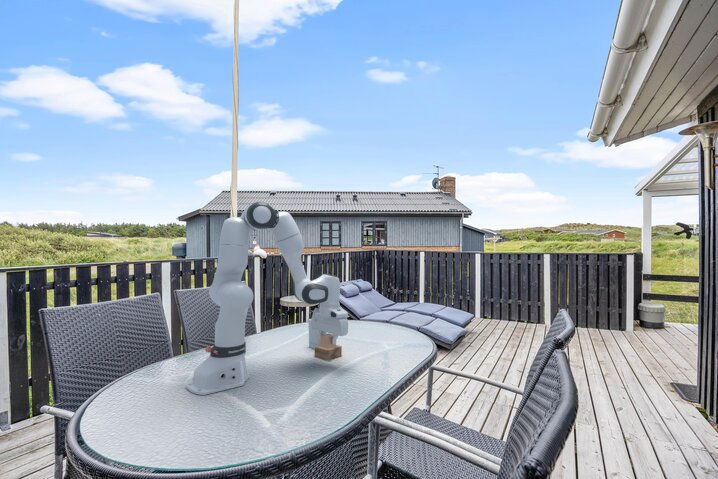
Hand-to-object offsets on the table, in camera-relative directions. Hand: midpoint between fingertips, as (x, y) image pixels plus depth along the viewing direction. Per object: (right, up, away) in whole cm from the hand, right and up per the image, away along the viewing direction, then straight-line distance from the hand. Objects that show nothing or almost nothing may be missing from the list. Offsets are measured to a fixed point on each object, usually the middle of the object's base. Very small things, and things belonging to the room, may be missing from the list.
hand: (328, 342), depth 158 cm
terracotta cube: (0, -2, 0) cm, 2 cm away
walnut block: (-1, -11, +13) cm, 16 cm away
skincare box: (-8, -11, +26) cm, 29 cm away
